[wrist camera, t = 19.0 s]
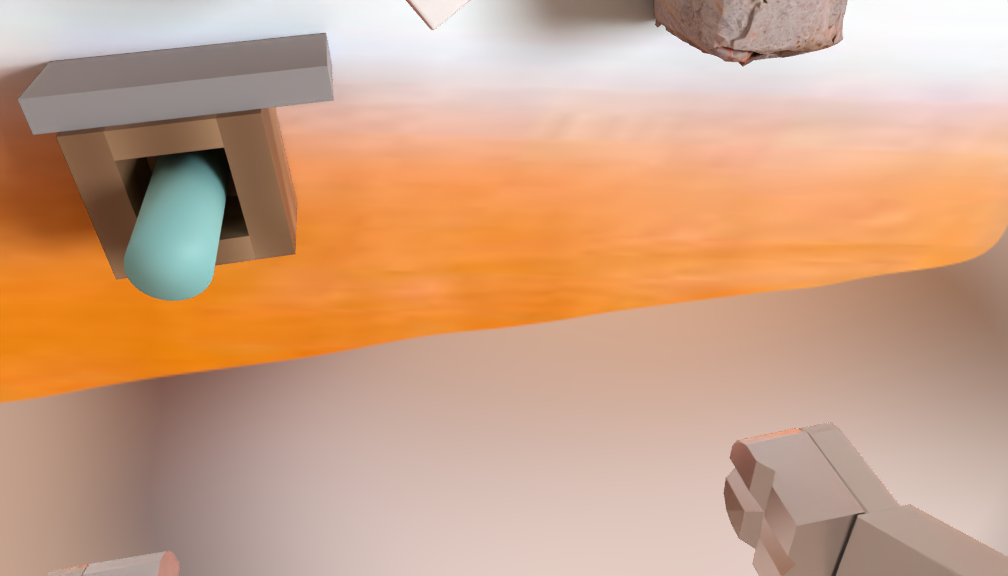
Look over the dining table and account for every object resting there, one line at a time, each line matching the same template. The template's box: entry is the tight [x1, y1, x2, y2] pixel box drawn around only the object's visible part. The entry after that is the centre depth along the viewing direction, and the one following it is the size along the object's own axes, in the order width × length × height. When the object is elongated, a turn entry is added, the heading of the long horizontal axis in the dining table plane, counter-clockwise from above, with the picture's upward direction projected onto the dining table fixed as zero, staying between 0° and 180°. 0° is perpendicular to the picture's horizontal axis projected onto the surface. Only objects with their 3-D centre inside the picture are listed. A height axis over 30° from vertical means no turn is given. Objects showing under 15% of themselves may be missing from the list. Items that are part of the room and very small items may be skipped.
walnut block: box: [56, 107, 297, 279], centre depth 35 cm, size 8×7×5 cm
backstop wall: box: [17, 33, 334, 135], centre depth 33 cm, size 12×2×4 cm, turn 92°
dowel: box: [124, 147, 231, 301], centre depth 33 cm, size 3×3×9 cm
